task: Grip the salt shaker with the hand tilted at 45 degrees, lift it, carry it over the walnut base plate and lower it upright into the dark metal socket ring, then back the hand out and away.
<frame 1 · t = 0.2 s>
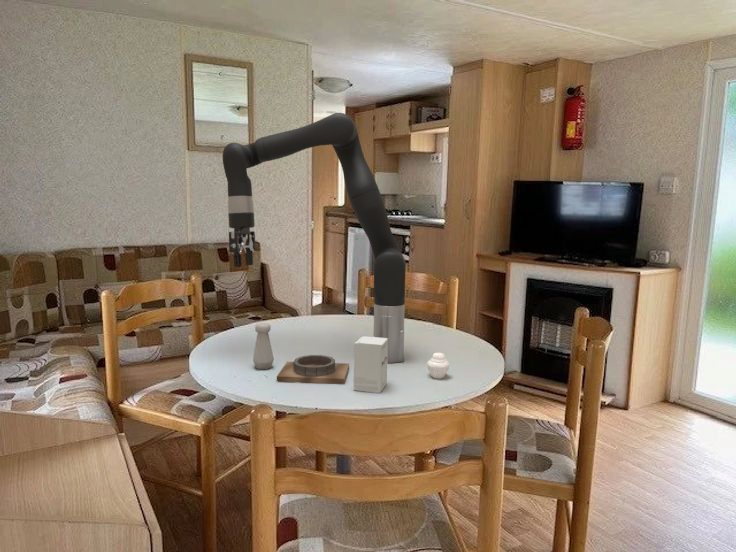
hand: (244, 266, 161), 28 cm above the table, tool pointing down, fingers open, 8 cm apart
salt shaker: (263, 368, 153), on the table
supplement box: (370, 388, 138), on the table
socket base: (314, 374, 147), on the table
muffin: (437, 377, 147), on the table
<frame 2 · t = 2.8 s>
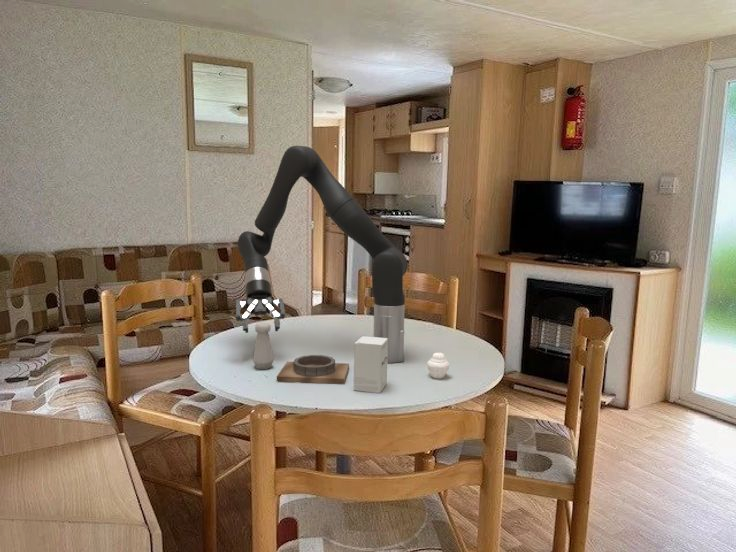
hand: (262, 330, 154), 10 cm above the table, tool tilted 45°, fingers open, 8 cm apart
nothing on the table moved.
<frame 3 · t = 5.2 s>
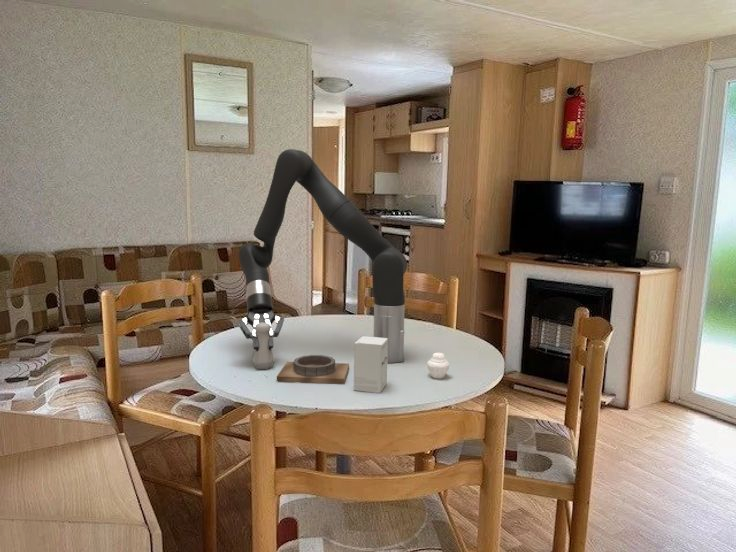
hand: (263, 349, 150), 6 cm above the table, tool tilted 45°, fingers closed on salt shaker, 3 cm apart
salt shaker: (263, 368, 153), on the table, touching gripper
everything else where it was.
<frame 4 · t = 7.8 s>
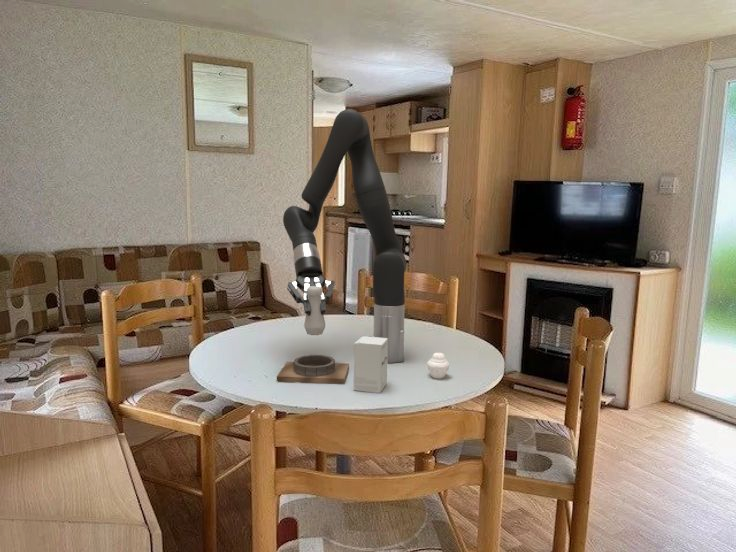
hand: (315, 313, 143), 18 cm above the table, tool tilted 45°, fingers closed on salt shaker, 3 cm apart
salt shaker: (314, 334, 145), point 12 cm above the table, touching gripper
everything else where it was.
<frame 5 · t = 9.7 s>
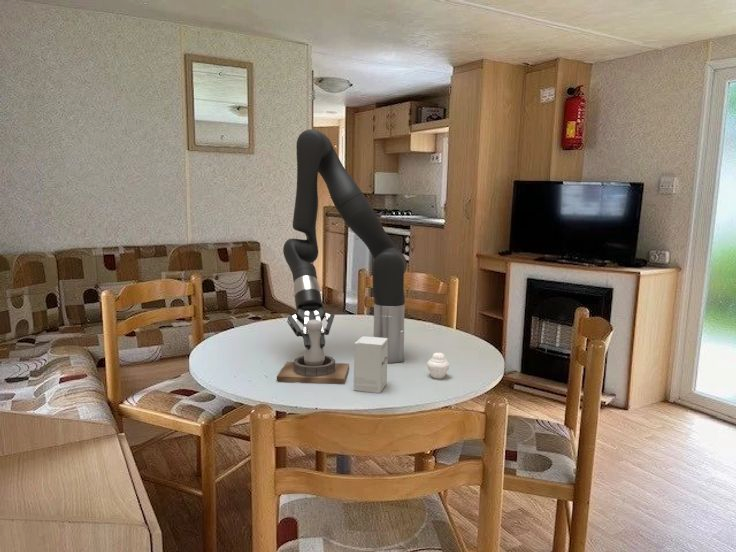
hand: (315, 347, 144), 8 cm above the table, tool tilted 45°, fingers closed on salt shaker, 3 cm apart
salt shaker: (314, 367, 147), point 2 cm above the table, touching gripper
everything else where it was.
when the fingers open (8 cm above the table, at t = 10.6 s): salt shaker stays where it is, resting on socket base.
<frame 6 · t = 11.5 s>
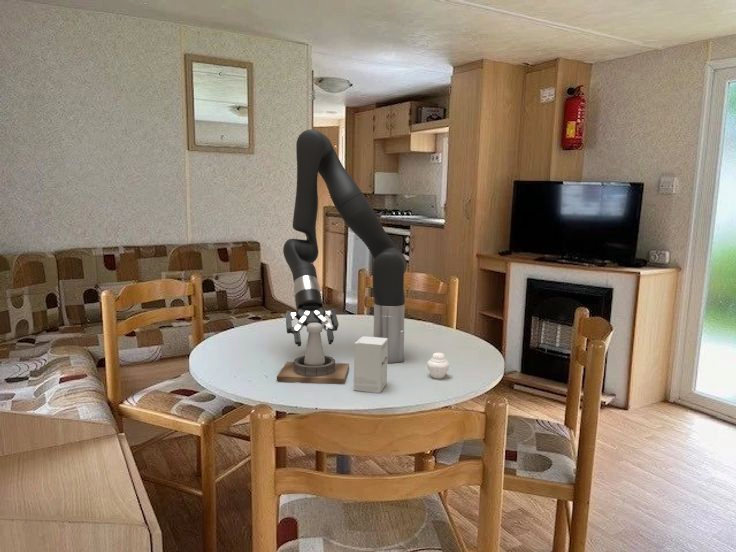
hand: (315, 344, 144), 9 cm above the table, tool tilted 45°, fingers open, 8 cm apart
salt shaker: (314, 370, 147), point 1 cm above the table, touching socket base
everything else where it was.
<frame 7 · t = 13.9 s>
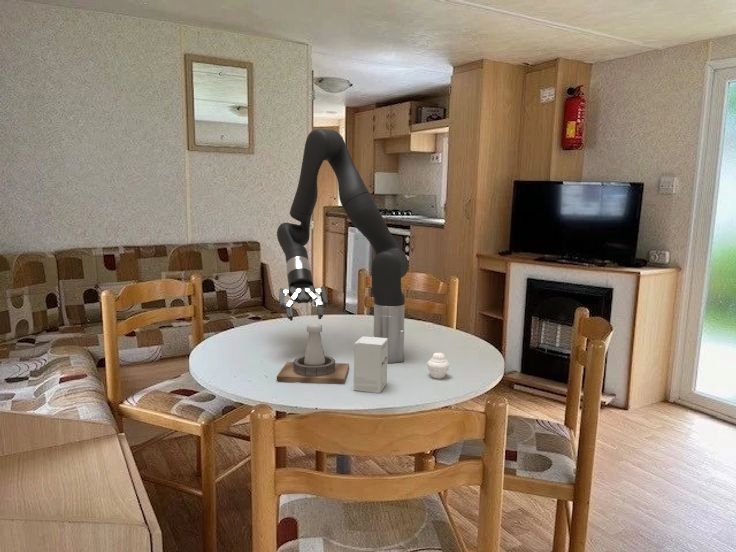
hand: (306, 318, 156), 13 cm above the table, tool tilted 45°, fingers open, 8 cm apart
nothing on the table moved.
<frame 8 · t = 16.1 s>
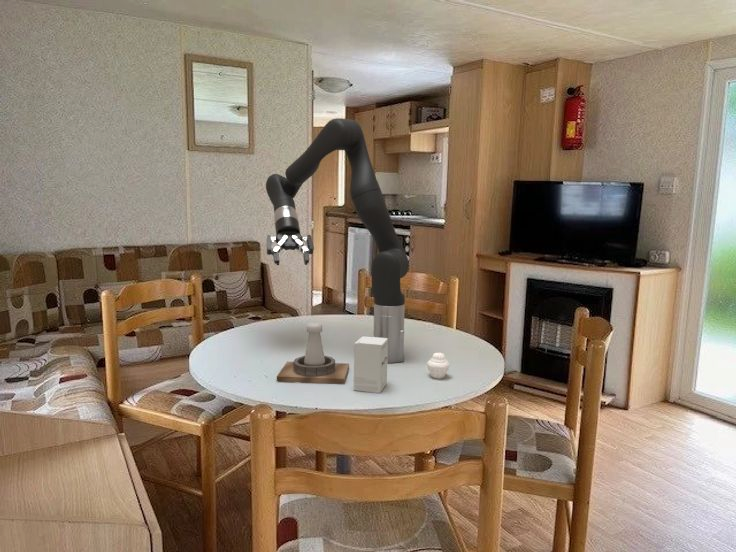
hand: (292, 263, 161), 29 cm above the table, tool tilted 45°, fingers open, 8 cm apart
nothing on the table moved.
at the end: salt shaker 0.2 cm off-centre on the socket base, point 1.3 cm above the socket base's base; salt shaker tilted 0°; the gripper is holding nothing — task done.
